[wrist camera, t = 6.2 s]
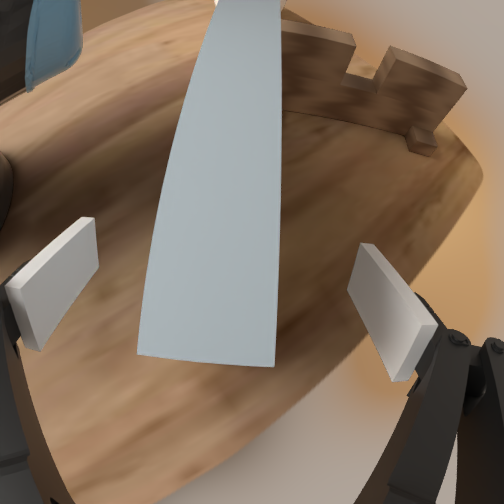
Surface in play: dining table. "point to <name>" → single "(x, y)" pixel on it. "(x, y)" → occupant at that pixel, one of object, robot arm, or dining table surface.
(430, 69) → the walnut board
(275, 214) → the slotted plate
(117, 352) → the dining table surface
